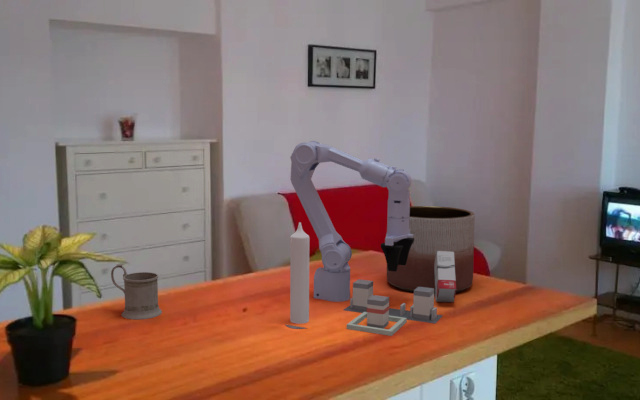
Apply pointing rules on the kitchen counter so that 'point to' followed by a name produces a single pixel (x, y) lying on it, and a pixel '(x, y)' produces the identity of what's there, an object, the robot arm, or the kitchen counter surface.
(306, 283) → the candle
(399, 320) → the grey square frame
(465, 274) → the planter
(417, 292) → the fuse right
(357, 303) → the block
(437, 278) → the ink box
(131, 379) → the kitchen counter surface
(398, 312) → the board
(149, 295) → the mug
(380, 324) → the red banded fuse
